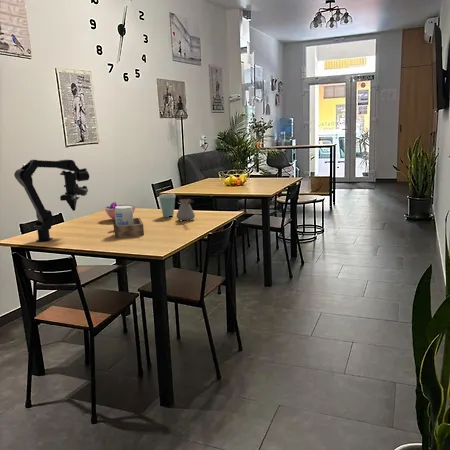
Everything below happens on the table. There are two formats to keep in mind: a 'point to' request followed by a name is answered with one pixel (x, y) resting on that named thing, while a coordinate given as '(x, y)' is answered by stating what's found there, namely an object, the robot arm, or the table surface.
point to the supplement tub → (124, 215)
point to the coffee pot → (185, 210)
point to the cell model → (111, 209)
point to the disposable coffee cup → (167, 204)
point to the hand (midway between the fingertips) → (73, 210)
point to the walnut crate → (129, 229)
